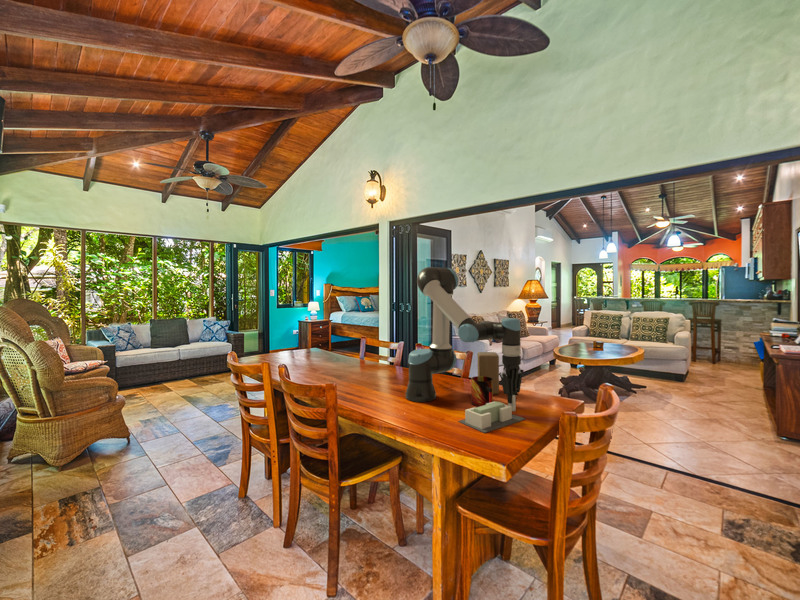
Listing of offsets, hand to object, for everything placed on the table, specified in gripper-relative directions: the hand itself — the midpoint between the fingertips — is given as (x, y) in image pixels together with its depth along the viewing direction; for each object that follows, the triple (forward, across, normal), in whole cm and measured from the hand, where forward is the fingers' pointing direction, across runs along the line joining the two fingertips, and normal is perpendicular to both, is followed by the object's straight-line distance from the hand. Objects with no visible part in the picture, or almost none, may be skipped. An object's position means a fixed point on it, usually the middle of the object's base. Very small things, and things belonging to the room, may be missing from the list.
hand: (511, 410), depth 151 cm
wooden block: (+2, +17, +30) cm, 34 cm away
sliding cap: (+1, -8, 0) cm, 8 cm away
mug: (+2, 0, +15) cm, 15 cm away
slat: (+2, -14, 0) cm, 14 cm away
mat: (+2, -12, 0) cm, 12 cm away
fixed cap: (+2, -20, 0) cm, 20 cm away
